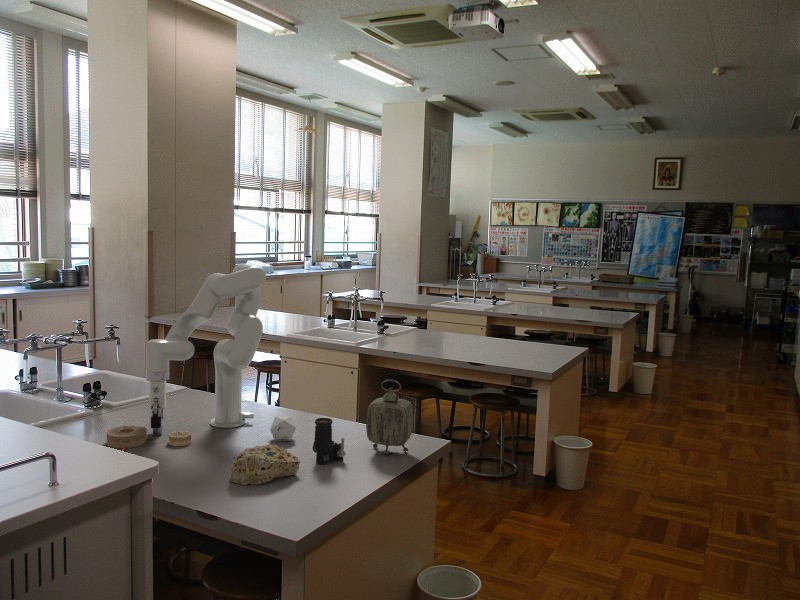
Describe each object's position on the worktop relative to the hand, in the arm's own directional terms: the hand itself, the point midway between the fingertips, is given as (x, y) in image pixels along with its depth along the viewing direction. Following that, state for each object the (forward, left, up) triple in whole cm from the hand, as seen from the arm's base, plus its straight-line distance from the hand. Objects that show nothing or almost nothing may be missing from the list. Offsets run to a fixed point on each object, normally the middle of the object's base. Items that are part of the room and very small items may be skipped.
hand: (157, 423), depth 224 cm
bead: (+9, +7, -4) cm, 12 cm away
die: (-42, +12, -4) cm, 44 cm away
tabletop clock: (-75, +31, -4) cm, 81 cm away
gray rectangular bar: (0, 0, -4) cm, 4 cm away
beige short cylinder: (-8, +10, -4) cm, 13 cm away
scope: (-53, +36, -4) cm, 64 cm away
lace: (+9, +17, -4) cm, 20 cm away
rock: (-34, +45, -4) cm, 56 cm away
